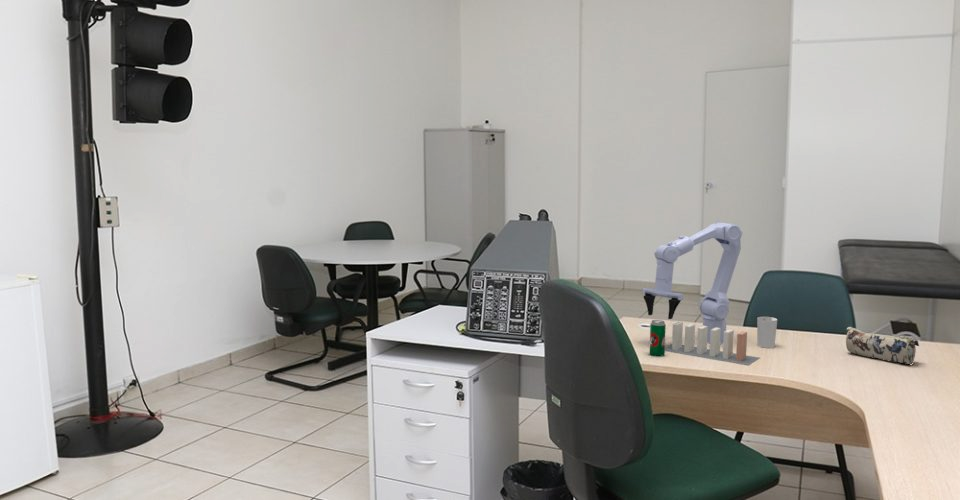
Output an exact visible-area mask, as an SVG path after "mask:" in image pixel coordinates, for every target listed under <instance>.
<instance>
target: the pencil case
mask: <svg viewBox="0 0 960 500" xmlns="http://www.w3.org/2000/svg"><path fill="white" fill-rule="evenodd" d="M846 331H847V333H846V336H845V346H846V349H847V351H848V352H849V353H852V354H855V355H857V354H858V355H859V356H862V357H866V356H867V357H866V358H870V357H873V358H872V359H875V358H879V359H878V360H880V359H884V360H889V361H888V362H891V361H894V362H893V363H897V362H900V363H899V364H901V363H905V364H904V365H906V364H912V363H913V364H914V360H915V358H916V347H917V346H918V347H919V346H920V344H919V341H918V340H914V339H913V336H910V337H906V336H902V335H900V336H895V335H887V334H880V333H872V332H866V331H865V332H864V331H862V330H860V329H857V328H855V327H852V326H848V327H847V328H846ZM858 355H857V356H858ZM884 360H883V361H884Z"/></svg>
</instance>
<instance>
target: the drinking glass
mask: <svg viewBox="0 0 960 500" xmlns="http://www.w3.org/2000/svg"><path fill="white" fill-rule="evenodd" d="M756 322H757V337H756V338H757V340H756V341H757V342H756V343H757V345H756V346H758V347H760V348H766V349H773V348H775V347H776V345H775V344H776V335H777V328H778V327H777V326H778V319H777V318H775V317H772V316H771V317H770V316H758V317H757V321H756Z"/></svg>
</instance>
